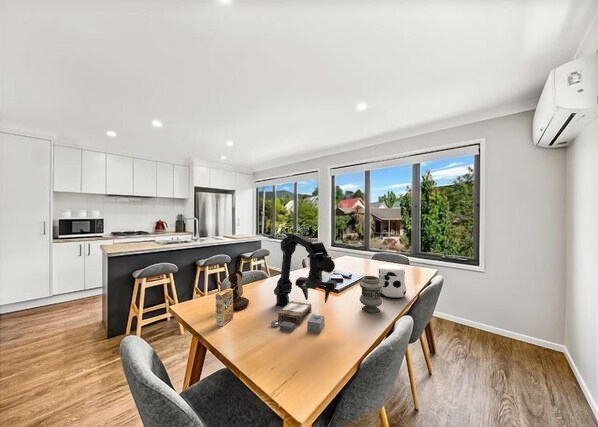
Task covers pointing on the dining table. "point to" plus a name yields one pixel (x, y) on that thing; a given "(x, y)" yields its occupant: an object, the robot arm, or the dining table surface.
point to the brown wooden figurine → (237, 290)
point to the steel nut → (275, 324)
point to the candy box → (224, 307)
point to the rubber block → (287, 326)
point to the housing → (316, 323)
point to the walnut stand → (294, 311)
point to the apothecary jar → (371, 294)
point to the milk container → (392, 281)
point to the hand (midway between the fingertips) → (316, 301)
